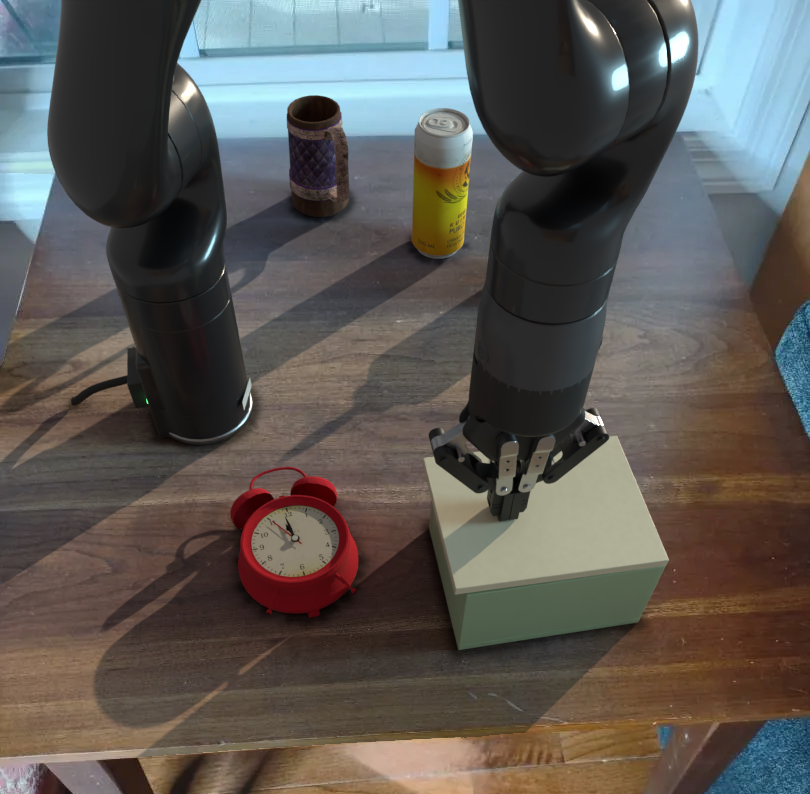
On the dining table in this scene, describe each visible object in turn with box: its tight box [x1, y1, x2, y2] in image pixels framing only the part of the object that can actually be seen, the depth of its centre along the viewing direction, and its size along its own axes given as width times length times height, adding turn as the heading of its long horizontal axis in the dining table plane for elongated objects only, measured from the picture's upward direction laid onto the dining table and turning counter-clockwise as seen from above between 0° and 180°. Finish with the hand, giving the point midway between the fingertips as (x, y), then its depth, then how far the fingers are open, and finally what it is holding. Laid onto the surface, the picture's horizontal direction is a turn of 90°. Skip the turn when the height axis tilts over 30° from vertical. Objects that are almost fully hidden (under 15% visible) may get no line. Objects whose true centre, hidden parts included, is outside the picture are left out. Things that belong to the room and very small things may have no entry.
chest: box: [428, 499, 666, 651], centre depth 72 cm, size 16×13×9 cm
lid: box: [422, 435, 670, 595], centre depth 68 cm, size 16×13×1 cm
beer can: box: [411, 107, 474, 260], centre depth 95 cm, size 6×6×15 cm
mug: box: [286, 94, 350, 218], centre depth 100 cm, size 10×7×12 cm
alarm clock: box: [229, 466, 359, 619], centre depth 75 cm, size 10×6×15 cm
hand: (504, 511), depth 67 cm, fingers closed
